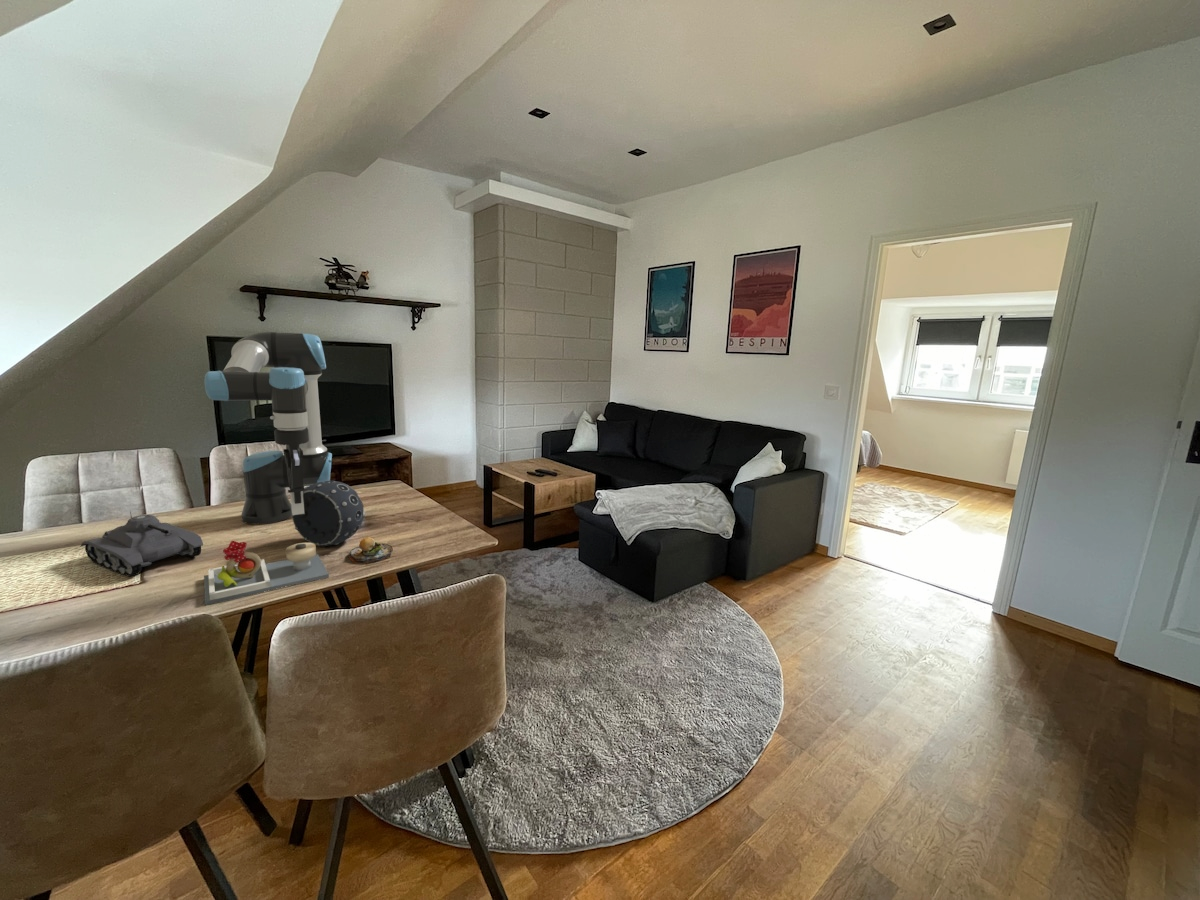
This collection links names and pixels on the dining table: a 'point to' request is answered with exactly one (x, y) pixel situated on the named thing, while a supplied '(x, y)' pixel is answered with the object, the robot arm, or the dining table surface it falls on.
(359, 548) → the burger
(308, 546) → the wheel
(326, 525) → the dotted grey bowl
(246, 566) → the bird rattle
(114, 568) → the toy tank
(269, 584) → the board
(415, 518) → the dining table surface
